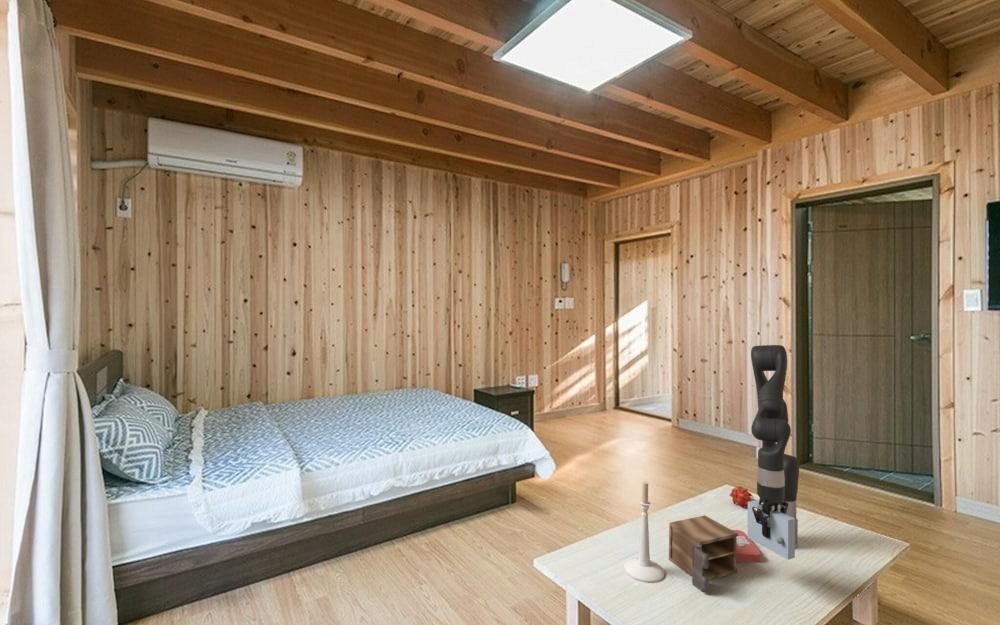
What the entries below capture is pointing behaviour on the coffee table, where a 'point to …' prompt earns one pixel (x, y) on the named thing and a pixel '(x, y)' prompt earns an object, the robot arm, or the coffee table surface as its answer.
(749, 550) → the plaque
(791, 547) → the door
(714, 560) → the cabinet
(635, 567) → the candlestick
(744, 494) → the dragon fruit
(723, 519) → the coffee table surface
